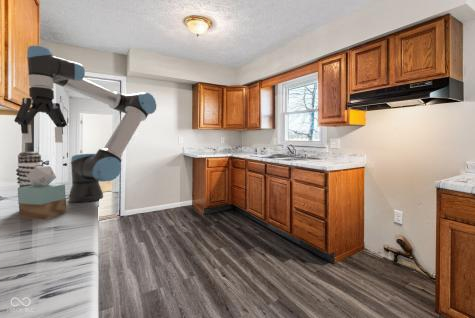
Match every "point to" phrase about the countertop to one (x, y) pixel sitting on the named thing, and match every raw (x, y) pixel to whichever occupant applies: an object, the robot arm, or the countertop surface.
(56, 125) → the robot arm
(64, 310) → the countertop surface
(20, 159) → the decorative candle
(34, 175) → the die
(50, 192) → the tower top
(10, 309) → the countertop surface
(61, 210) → the tower base
